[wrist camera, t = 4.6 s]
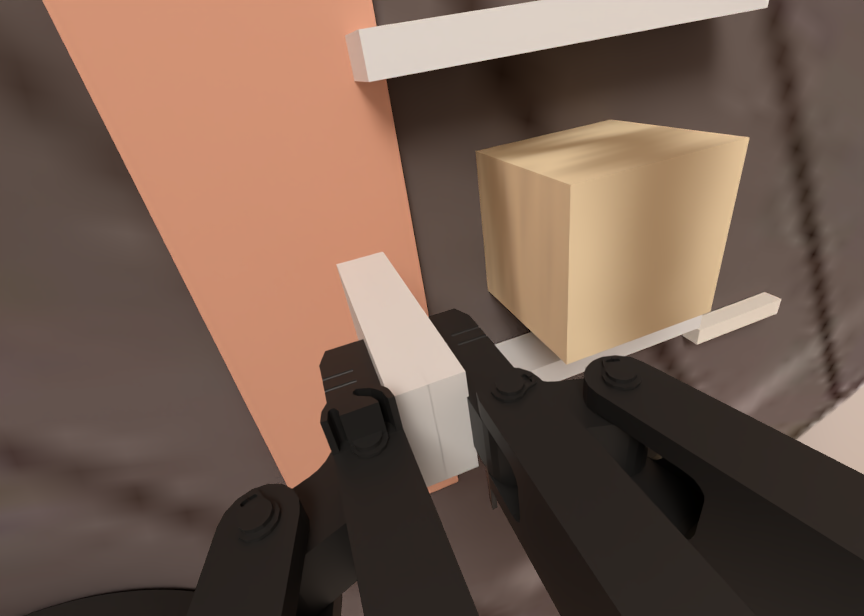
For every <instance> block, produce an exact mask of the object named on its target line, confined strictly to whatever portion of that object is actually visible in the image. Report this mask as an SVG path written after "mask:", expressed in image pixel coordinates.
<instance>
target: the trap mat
mask: <svg viewBox="0 0 864 616" xmlns="http://www.w3.org/2000/svg"><path fill="white" fill-rule="evenodd" d="M42 1H43V3H44V5H45V6H46V8H47V10H48V12H49V14H50V16H51V18H52V20H53V22H54V24H55V26H56V28H57V30H58V32H59V34H60V36H61V38H62V40H63V42H64V44H65V46H66V48H67V50H68V52H69V54H70V56H71V58H72V60H73V62H74V64H75V66H76V68H77V70H78V72H79V74H80V76H81V78H82V80H83V82H84V84H85V86H86V88H87V90H88V92H89V94H90V96H91V98H92V100H93V102H94V104H95V106H96V108H97V110H98V112H99V113H100V115H101V117H102V119H103V121H104V123H105V125H106V127H107V129H108V131H109V133H110V135H111V137H112V139H113V141H114V143H115V145H116V147H117V149H118V151H119V153H120V155H121V157H122V159H123V161H124V163H125V165H126V167H127V169H128V171H129V173H130V175H131V177H132V179H133V181H134V183H135V185H136V187H137V189H138V191H139V193H140V195H141V197H142V199H143V201H144V203H145V205H146V207H147V209H148V211H149V213H150V215H151V217H152V218H153V220H154V222H155V224H156V226H157V228H158V230H159V232H160V234H161V236H162V238H163V240H164V242H165V244H166V246H167V248H168V250H169V252H170V254H171V256H172V258H173V260H174V262H175V264H176V266H177V268H178V270H179V272H180V274H181V276H182V278H183V280H184V282H185V284H186V286H187V288H188V290H189V292H190V294H191V296H192V298H193V300H194V302H195V304H196V306H197V308H198V310H199V312H200V314H201V316H202V318H203V320H204V322H205V323H206V325H207V327H208V329H209V331H210V333H211V335H212V337H213V339H214V341H215V343H216V345H217V347H218V349H219V351H220V353H221V355H222V357H223V359H224V361H225V363H226V365H227V367H228V369H229V371H230V373H231V375H232V377H233V379H234V381H235V383H236V385H237V387H238V389H239V391H240V393H241V395H242V397H243V399H244V401H245V403H246V405H247V407H248V409H249V411H250V413H251V415H252V417H253V419H254V421H255V423H256V425H257V427H258V428H259V430H260V432H261V434H262V436H263V438H264V440H265V442H266V444H267V446H268V448H269V450H270V452H271V454H272V456H273V458H274V460H275V462H276V464H277V466H278V468H279V470H280V472H281V474H282V476H283V478H284V480H285V482H286V484H287V486H288V487H290V488H294V487H295V486H297V485H298V484H300V483H301V482H303V481H304V480H305V479H307V478H308V477H310V476H311V475H312V474H313V473H315V472H316V471H317V470H318V469H319V468H320V467H321V466H322V465H323V463H324V462H325V461H326V460H327V458H328V456H329V454H330V453H331V449H330V447H329V444H328V442H327V439H326V437H325V434H324V432H323V429H322V427H321V424H320V418H321V411H322V410H323V408H324V407H325V405H326V403H327V402H326V397H325V391H324V387H323V381H322V377H321V372H320V367H319V365H320V362H321V360H322V357H323V355H324V352H325V351H327V350H330V349H333V348H337V347H340V346H343V345H346V344H349V343H352V342H355V341H359V339H358V337H357V333H356V330H355V327H354V323H353V320H352V316H351V313H350V310H349V306H348V303H347V299H346V296H345V293H344V289H343V286H342V282H341V279H340V276H339V272H338V269H337V265H336V264H339V263H343V262H347V261H350V260H354V259H357V258H361V257H365V256H368V255H372V254H375V253H379V252H384V254H385V255H386V257H387V258H388V259H389V261H390V262H391V264H392V265H393V267H394V268H395V270H396V271H397V273H398V274H399V275H400V277H401V278H402V280H403V281H404V283H405V284H406V286H407V287H408V289H409V290H410V291H411V293H412V294H413V296H414V297H415V299H416V300H417V302H418V303H419V305H420V306H421V307H422V309H423V310H424V312H425V313H426V315H427V316H428V317H429V315H428V309H427V304H426V298H425V293H424V287H423V281H422V276H421V270H420V265H419V259H418V254H417V248H416V243H415V237H414V231H413V226H412V220H411V215H410V209H409V204H408V198H407V192H406V187H405V181H404V176H403V170H402V165H401V159H400V154H399V148H398V142H397V137H396V131H395V126H394V120H393V115H392V109H391V104H390V98H389V92H388V87H387V81H386V79H383V80H377V81H372V82H361V81H354V76H353V72H352V67H351V62H350V58H349V53H348V48H347V44H346V39H345V35H347V34H349V33H352V32H354V31H356V30H358V29H364V28H370V27H377V26H376V20H375V15H374V9H373V3H372V0H42ZM456 482H458V476H457V475H456V476H454V477H451V478H449V479H446V480H444V481H442V482H439V483H437V484H434V485H432V486H429V487H427V489H428V491H429V494H430V493H432V492H434V491H437V490H439V489H442V488H444V487H446V486H449V485H451V484H454V483H456Z"/></svg>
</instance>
